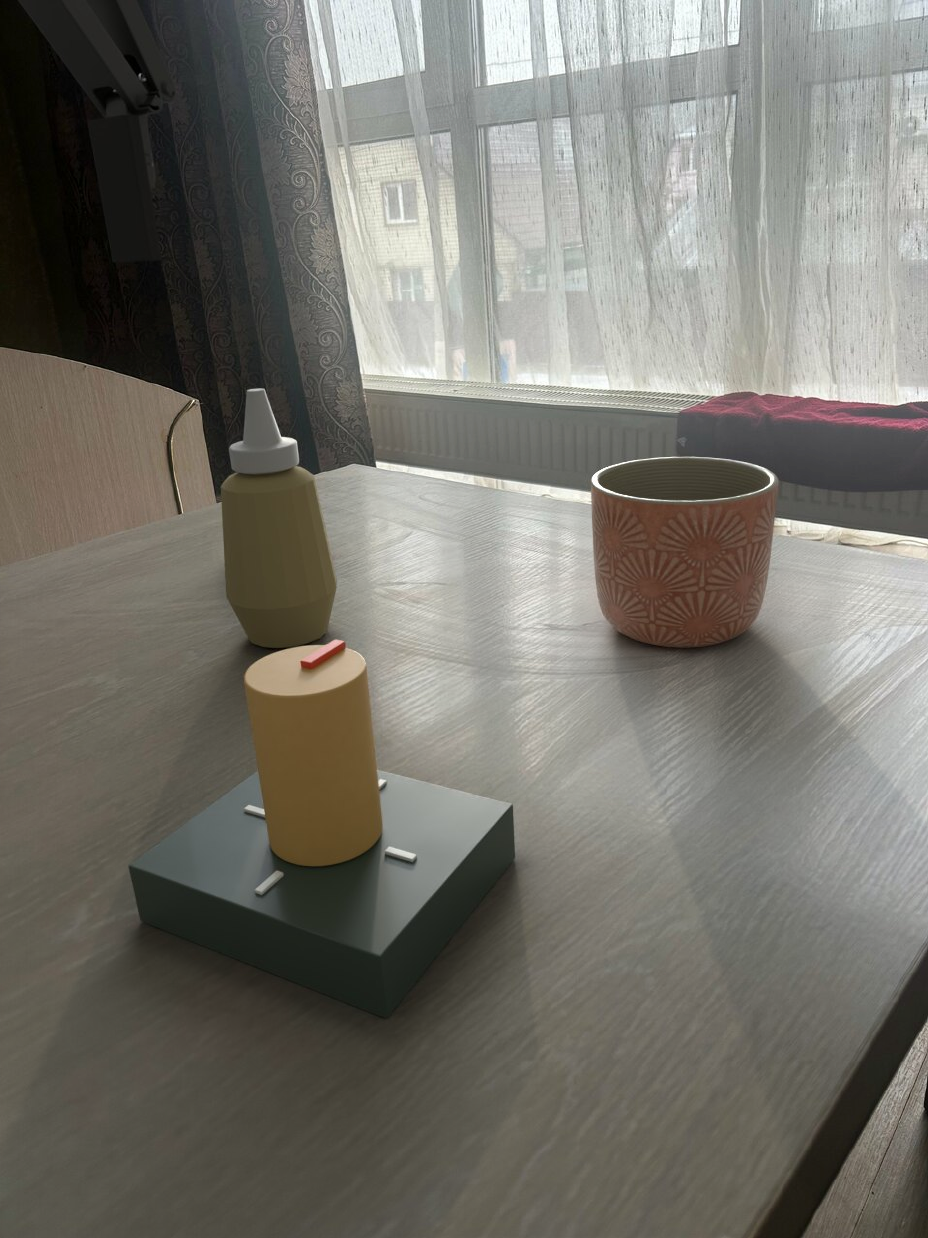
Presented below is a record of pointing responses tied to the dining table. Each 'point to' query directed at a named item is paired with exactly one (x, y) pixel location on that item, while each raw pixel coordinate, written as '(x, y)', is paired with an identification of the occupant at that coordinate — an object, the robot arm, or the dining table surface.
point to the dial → (315, 753)
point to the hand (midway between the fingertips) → (23, 271)
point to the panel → (331, 889)
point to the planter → (682, 547)
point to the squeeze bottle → (274, 537)
